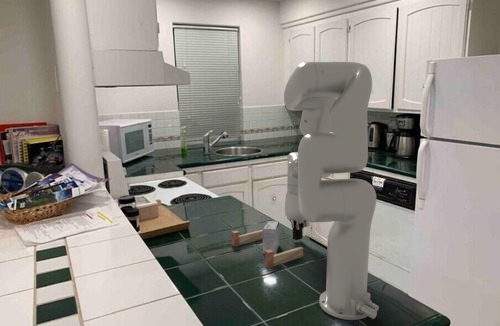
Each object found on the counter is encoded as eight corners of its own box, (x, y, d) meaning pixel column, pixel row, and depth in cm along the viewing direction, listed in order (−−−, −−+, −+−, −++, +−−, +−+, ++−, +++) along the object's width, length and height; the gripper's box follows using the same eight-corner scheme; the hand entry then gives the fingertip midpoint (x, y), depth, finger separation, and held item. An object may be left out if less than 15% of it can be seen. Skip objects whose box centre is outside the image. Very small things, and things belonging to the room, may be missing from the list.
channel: (303, 257, 117) (303, 242, 116) (268, 268, 109) (268, 252, 108) (264, 236, 134) (264, 223, 133) (231, 245, 126) (231, 231, 125)
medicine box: (276, 255, 118) (276, 229, 117) (262, 254, 119) (262, 228, 118) (279, 245, 126) (279, 221, 124) (266, 244, 127) (266, 220, 125)
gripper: (321, 191, 121) (320, 243, 124) (292, 182, 133) (292, 230, 137) (304, 194, 117) (303, 248, 120) (276, 185, 129) (276, 234, 133)
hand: (297, 238), depth 129 cm, fingers closed
